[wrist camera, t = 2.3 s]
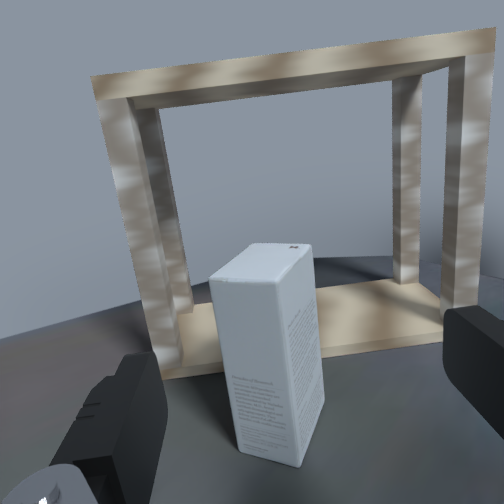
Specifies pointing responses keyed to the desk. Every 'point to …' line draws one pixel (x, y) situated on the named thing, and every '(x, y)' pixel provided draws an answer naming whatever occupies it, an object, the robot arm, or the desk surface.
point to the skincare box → (270, 348)
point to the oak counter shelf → (296, 74)
